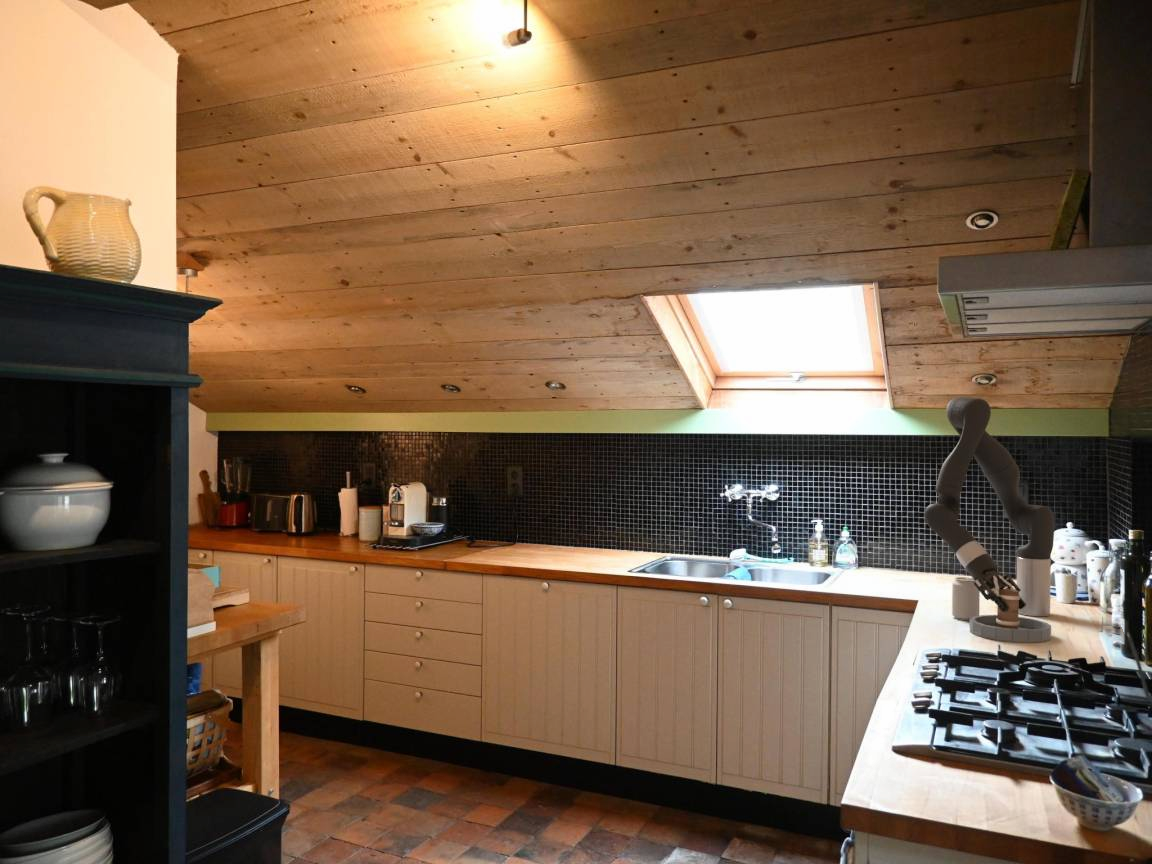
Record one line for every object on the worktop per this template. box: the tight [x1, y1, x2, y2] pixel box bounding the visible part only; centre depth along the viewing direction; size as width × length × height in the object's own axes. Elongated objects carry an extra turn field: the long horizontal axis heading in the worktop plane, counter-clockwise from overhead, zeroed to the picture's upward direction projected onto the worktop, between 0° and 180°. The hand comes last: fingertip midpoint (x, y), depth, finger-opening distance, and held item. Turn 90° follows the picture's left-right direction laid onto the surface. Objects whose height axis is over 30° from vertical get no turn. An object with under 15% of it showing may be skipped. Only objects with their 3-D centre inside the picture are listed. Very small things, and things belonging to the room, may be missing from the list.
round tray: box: [969, 614, 1052, 644], centre depth 248 cm, size 20×20×3 cm
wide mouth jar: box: [951, 576, 981, 622], centre depth 269 cm, size 8×8×12 cm
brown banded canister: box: [996, 588, 1020, 629], centre depth 248 cm, size 6×6×11 cm
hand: (1015, 608), depth 246 cm, fingers open, 7 cm apart
